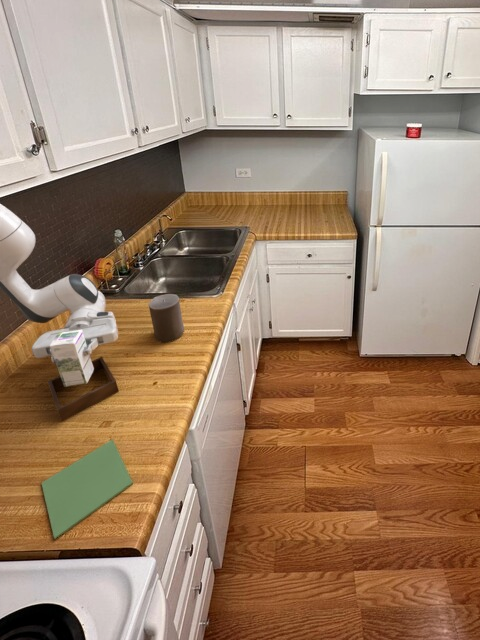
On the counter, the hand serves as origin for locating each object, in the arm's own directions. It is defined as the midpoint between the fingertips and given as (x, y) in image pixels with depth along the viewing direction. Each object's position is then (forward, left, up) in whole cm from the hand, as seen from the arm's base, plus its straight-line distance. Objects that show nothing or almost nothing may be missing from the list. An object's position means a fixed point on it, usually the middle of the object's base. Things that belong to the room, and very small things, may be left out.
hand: (71, 356), depth 89 cm
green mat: (-5, -28, -14) cm, 32 cm away
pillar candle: (+29, +9, -14) cm, 33 cm away
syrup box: (0, +1, -9) cm, 9 cm away
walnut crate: (+1, +1, -14) cm, 14 cm away
